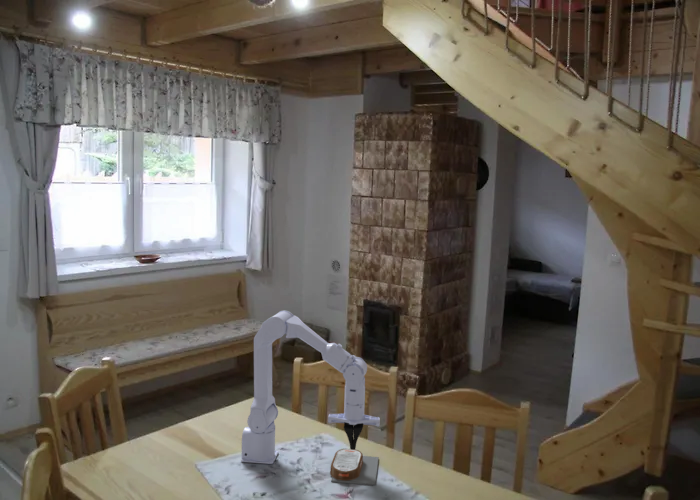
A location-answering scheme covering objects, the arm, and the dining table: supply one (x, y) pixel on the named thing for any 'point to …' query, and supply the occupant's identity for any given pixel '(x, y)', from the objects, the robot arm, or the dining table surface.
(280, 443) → the dining table surface
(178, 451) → the dining table surface
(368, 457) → the mat
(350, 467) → the tin
